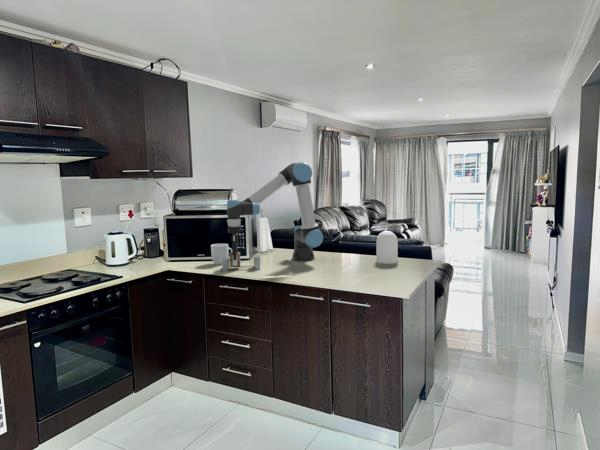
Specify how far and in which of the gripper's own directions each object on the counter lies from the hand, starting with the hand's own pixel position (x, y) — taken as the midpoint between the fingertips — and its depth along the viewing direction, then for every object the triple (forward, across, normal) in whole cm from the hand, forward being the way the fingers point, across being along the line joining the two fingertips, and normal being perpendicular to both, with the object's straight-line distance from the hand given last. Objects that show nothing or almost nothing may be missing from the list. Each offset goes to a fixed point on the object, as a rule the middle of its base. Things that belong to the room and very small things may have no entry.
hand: (235, 264), depth 248 cm
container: (+4, -8, +96) cm, 97 cm away
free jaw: (+3, 0, +13) cm, 13 cm away
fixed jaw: (+3, 0, -6) cm, 7 cm away
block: (+1, 0, 0) cm, 1 cm away
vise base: (+4, 0, +3) cm, 5 cm away
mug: (+4, -21, -10) cm, 24 cm away
